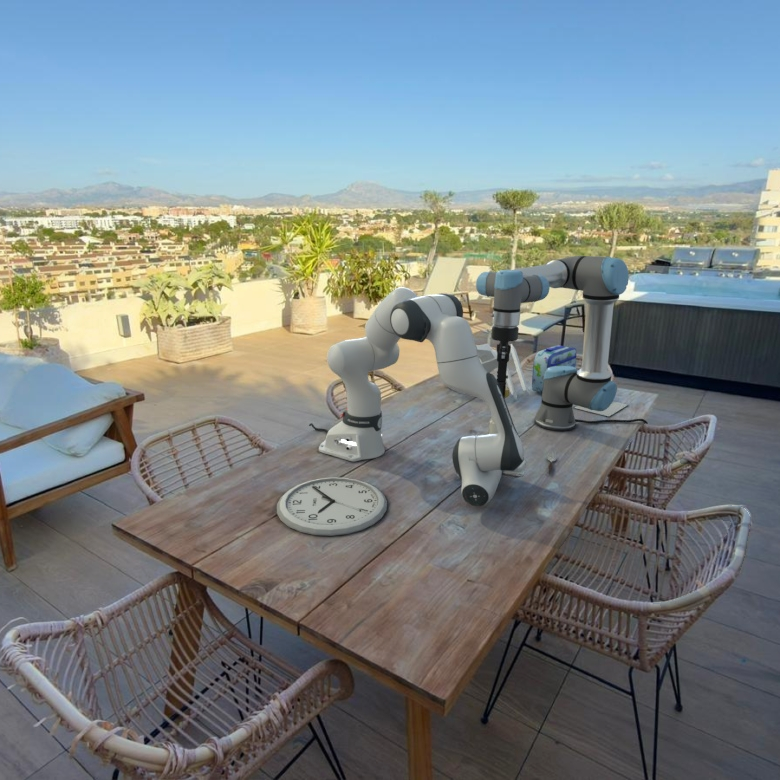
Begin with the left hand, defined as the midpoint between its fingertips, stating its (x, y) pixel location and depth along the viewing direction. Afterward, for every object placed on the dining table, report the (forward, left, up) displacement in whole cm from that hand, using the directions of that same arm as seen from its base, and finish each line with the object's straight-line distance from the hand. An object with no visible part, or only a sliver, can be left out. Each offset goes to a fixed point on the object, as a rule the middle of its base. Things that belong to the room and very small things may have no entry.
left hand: (495, 452), depth 162 cm
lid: (0, -1, +21) cm, 21 cm away
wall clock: (-37, -38, -7) cm, 53 cm away
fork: (+16, +12, -7) cm, 21 cm away
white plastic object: (-21, +81, -7) cm, 84 cm away
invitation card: (+32, +82, -7) cm, 88 cm away
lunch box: (+10, +98, -7) cm, 99 cm away
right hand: (0, -1, +17) cm, 17 cm away
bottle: (0, -1, -7) cm, 7 cm away
